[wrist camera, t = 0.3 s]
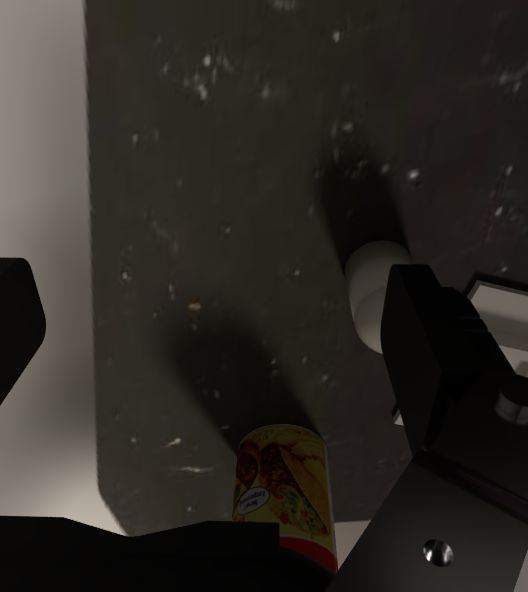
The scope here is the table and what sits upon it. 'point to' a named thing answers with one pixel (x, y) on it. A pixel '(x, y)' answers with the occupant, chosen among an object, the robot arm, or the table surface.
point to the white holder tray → (502, 322)
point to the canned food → (287, 488)
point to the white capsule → (371, 286)
